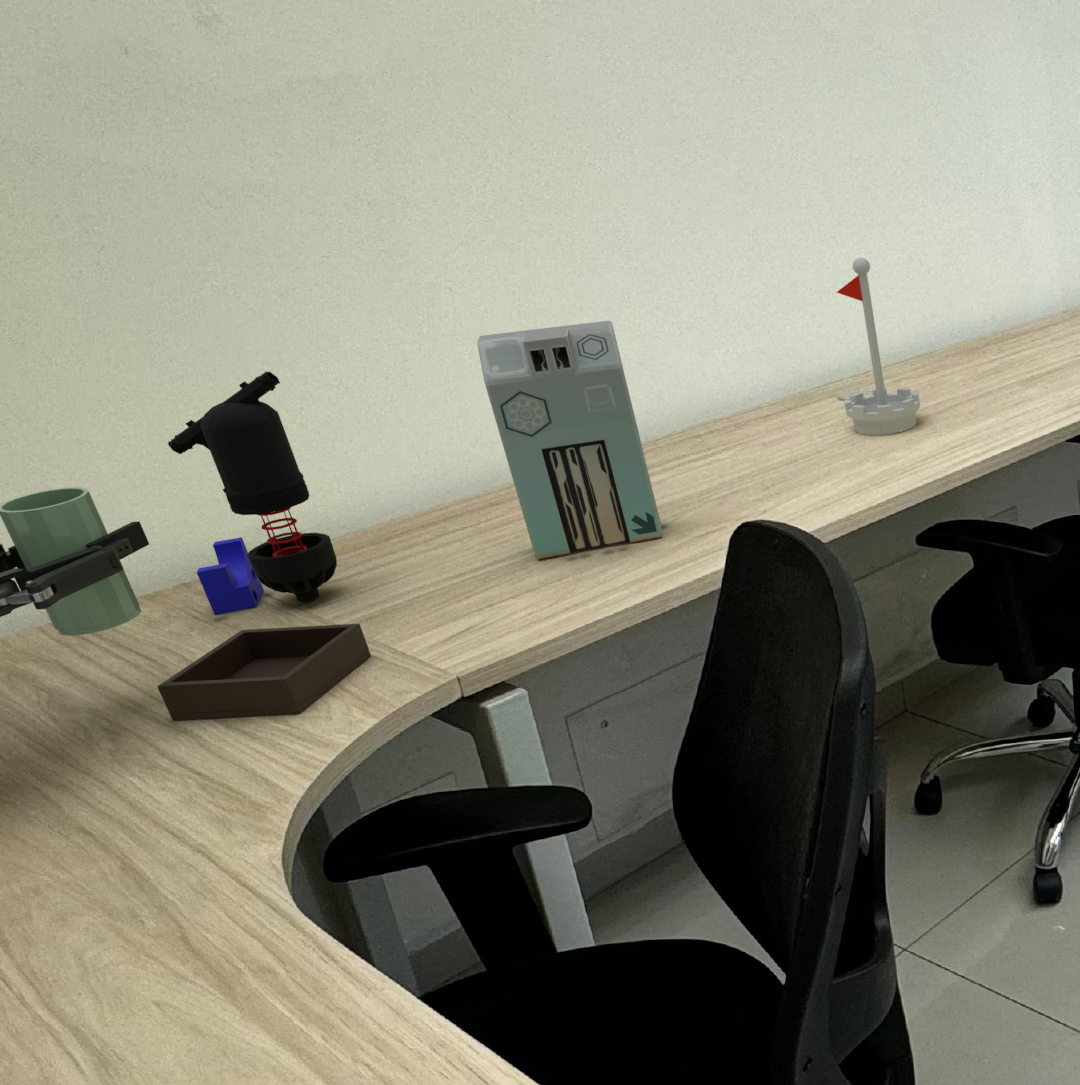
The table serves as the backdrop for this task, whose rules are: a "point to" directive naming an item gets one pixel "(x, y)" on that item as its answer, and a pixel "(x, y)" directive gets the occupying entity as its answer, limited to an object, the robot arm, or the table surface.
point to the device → (570, 437)
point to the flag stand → (877, 375)
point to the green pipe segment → (62, 529)
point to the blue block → (231, 578)
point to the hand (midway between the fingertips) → (103, 534)
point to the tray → (265, 672)
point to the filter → (263, 485)
